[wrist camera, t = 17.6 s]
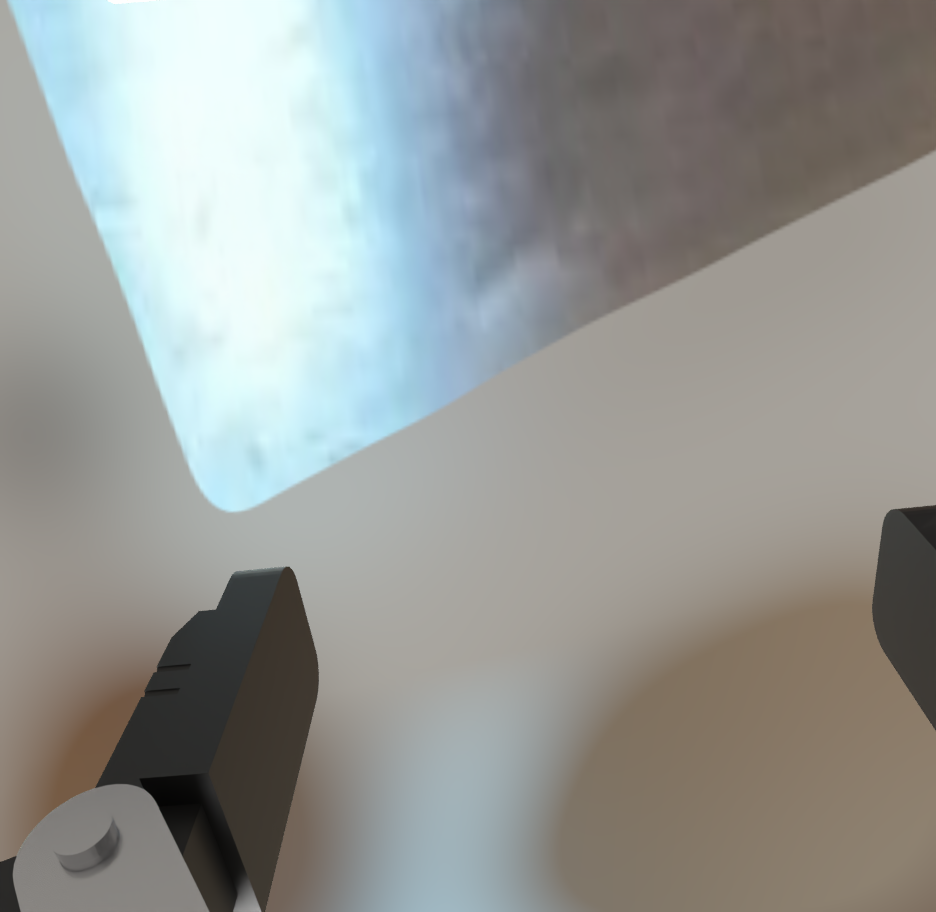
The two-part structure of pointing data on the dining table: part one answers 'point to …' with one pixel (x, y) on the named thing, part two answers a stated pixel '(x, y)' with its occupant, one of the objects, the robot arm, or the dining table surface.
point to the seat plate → (126, 1)
